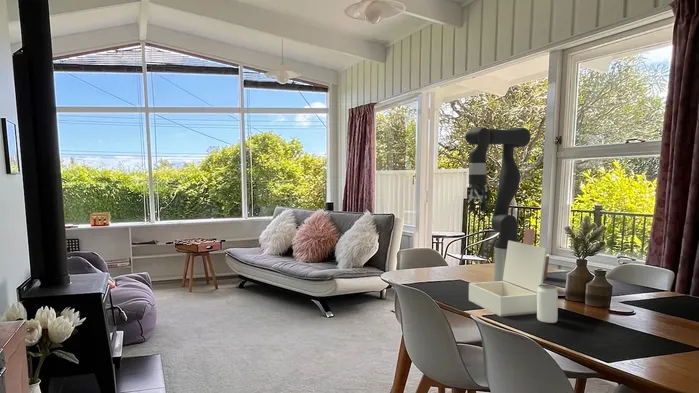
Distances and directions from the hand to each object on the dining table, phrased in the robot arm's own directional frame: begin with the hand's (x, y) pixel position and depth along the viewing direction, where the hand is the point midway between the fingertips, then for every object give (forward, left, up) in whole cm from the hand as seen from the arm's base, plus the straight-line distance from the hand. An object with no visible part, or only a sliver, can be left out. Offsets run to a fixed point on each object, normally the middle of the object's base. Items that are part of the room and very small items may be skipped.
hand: (477, 210), depth 183 cm
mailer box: (+2, +21, -36) cm, 42 cm away
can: (-3, +40, -36) cm, 54 cm away
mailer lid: (-8, +21, -17) cm, 28 cm away
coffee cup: (-46, -18, -36) cm, 61 cm away
